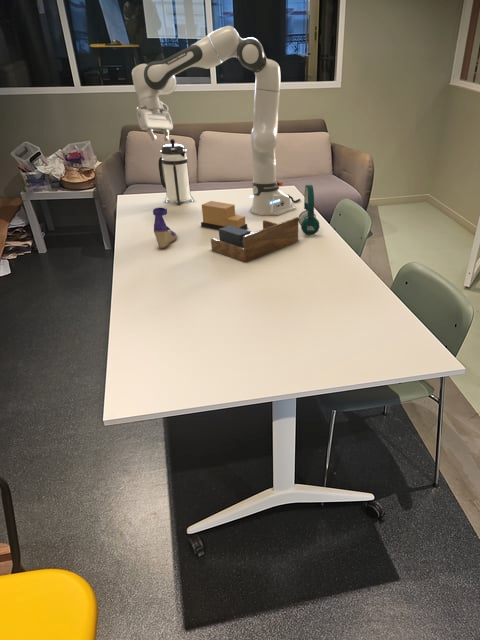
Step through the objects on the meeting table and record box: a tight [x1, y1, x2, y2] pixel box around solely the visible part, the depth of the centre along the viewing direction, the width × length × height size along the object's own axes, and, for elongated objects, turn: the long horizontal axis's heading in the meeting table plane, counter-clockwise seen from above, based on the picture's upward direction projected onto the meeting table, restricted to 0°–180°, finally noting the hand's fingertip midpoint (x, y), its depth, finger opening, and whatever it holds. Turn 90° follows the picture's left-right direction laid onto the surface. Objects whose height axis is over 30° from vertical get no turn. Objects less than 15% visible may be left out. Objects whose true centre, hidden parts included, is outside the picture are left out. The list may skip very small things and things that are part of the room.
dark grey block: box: [218, 225, 252, 248], centre depth 204 cm, size 20×7×8 cm, turn 50°
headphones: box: [298, 184, 320, 236], centre depth 220 cm, size 8×15×20 cm, turn 5°
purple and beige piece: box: [152, 207, 177, 250], centre depth 210 cm, size 8×20×15 cm, turn 174°
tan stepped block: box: [200, 200, 248, 231], centre depth 227 cm, size 20×8×10 cm, turn 62°
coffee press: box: [158, 138, 195, 206], centre depth 257 cm, size 17×16×30 cm
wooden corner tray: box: [210, 216, 299, 263], centre depth 208 cm, size 20×32×10 cm, turn 140°
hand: (161, 140), depth 226 cm, fingers open, 8 cm apart
